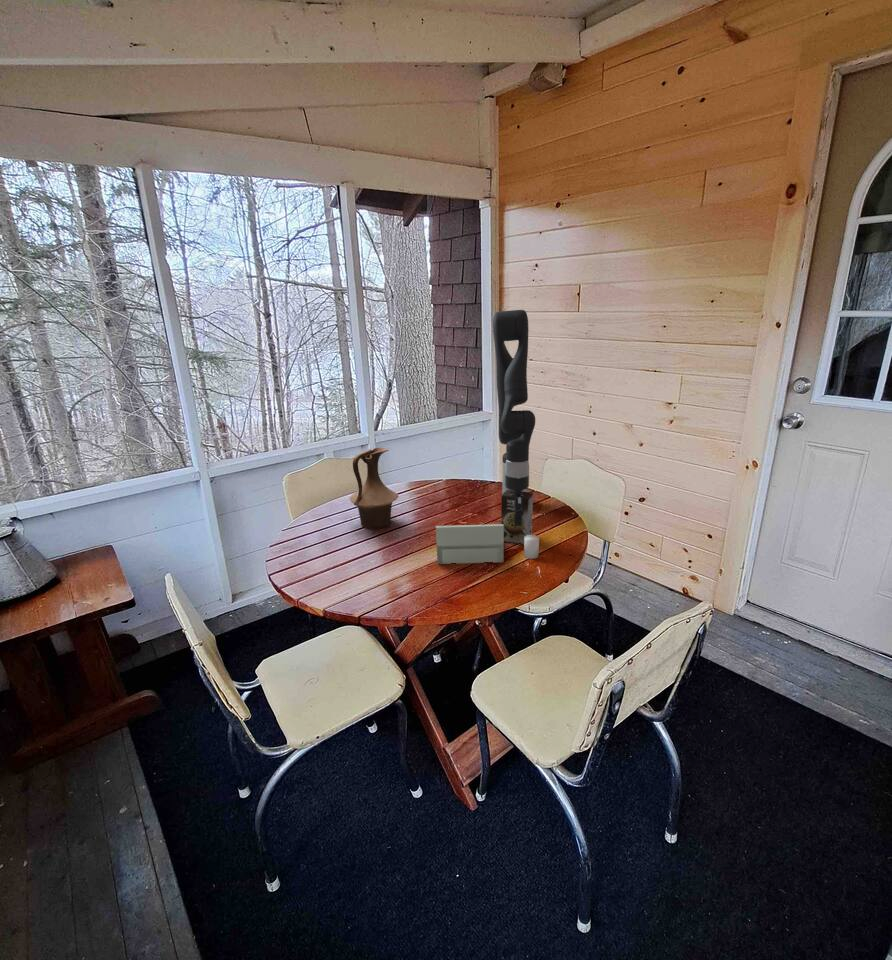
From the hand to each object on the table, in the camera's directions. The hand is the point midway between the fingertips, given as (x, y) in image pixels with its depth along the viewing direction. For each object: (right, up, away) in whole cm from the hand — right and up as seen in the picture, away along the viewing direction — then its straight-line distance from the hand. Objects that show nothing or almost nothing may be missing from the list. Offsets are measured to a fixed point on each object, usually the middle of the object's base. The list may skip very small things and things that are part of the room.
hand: (516, 520), depth 168 cm
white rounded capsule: (+3, -10, -9) cm, 14 cm away
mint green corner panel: (-16, -10, -6) cm, 19 cm away
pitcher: (-49, -3, +18) cm, 52 cm away
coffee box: (0, -7, +2) cm, 7 cm away
